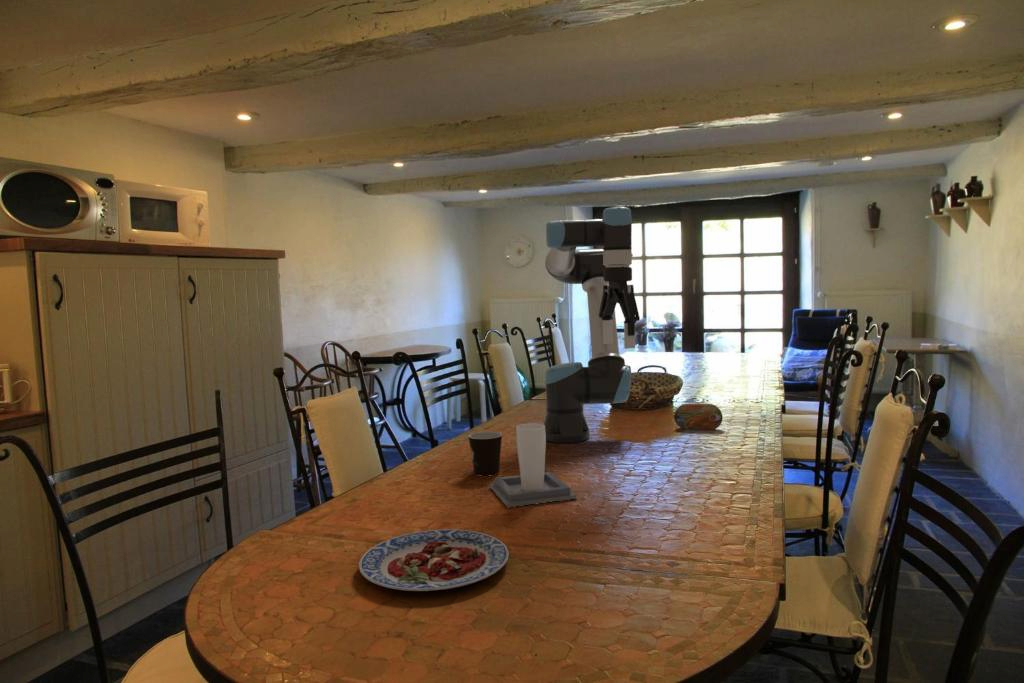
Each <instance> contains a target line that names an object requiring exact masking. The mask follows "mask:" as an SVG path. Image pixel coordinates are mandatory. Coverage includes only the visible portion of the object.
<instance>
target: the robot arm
mask: <svg viewBox="0 0 1024 683" xmlns="http://www.w3.org/2000/svg"><path fill="white" fill-rule="evenodd" d="M632 222H633V219H632V209H630V208H629V207H623V206H616V207H607V208H604V209H603V211H602V218H595V219H593V218H590V219H557V220H550V221H547V223H546V224H545V225H546V227H545V241H546V242H545V243H546V246H547V248H550V250H549V252H548V253H547V254H546V257H545V261H544V262H545V268H546V270H547V272H548V274H549V275H550V276H551V277H552V278H553V279H555V280H557V281H559V282H561V283H565V284H569V285H581V288H582V290H583V292H584V293H586V294H587V296H586V297H587V307H588V318H589V320H588V322H589V332H590V346H591V358H590V359H589V360H588V361H587V366H583V363H582V362H577V361H576V362H575V361H574V362H572V361H571V362H565V363H560V364H555V365H552V366H549V367H548V368H547V369H546V371H545V381H544V384H545V411H546V412H545V416H544V417H545V418H544V420H543V423H542V424H543V425H545V432H546V442H549V443H550V442H551V443H556V444H557V443H561V444H565V443H566V444H569V443H578V442H584V441H587V440H588V439H590V428H589V425H588V422H587V420H586V417H585V414H584V405H594V404H595V405H597V404H598V405H601V404H604V405H605V404H612V405H614V404H619V403H620V404H621V403H625V402H627V401H628V399H629V397H630V393H631V392H630V391H631V384H632V367H631V365H628V364H626V362H625V358H623V357H622V356H621V355H620V352H619V350H620V349H619V340H618V330H617V320H616V310H615V309H616V306H617V304H619V307H620V309H621V312H622V316H623V318H624V320H623V328H624V329H623V332H624V333H623V337H624V338H623V341H624V342H623V344H624V345H623V346H624V349H626V350H627V349H635V348H636V323H637V322H639V321H640V314H639V310H638V306H637V301H636V297H635V296H636V295H635V290H634V284H628V282H631V281H632V280H633V268H632V267H631V265H632V262H633V261H632V260H633V259H632V258H633V255H634V254H633V253H632V248H633V247H632V246H633V245H632V226H633V225H632V224H633V223H632ZM583 247H585V248H583ZM586 247H590V248H586ZM591 247H600V248H591ZM577 248H578V249H577ZM580 248H581V249H580Z"/></svg>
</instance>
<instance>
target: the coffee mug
mask: <svg viewBox="0 0 1024 683" xmlns="http://www.w3.org/2000/svg"><path fill="white" fill-rule="evenodd" d="M502 436H503V434H502V433H501V432H497V431H478V432H473V433H470V434H469V435H468V442H469V447H470V448H469V449H470V453H471V459H472V460H471V461H472V466H473V473H475V474H476V475H482V476H488V477H490V476H489V475H494V476H496V475H495V474H497V473H500V464H501V452H502V451H501V450H502V440H503V439H502V438H503V437H502ZM475 474H474V475H475ZM476 475H475V476H476ZM497 475H498V474H497ZM482 476H481V477H482Z"/></svg>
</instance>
